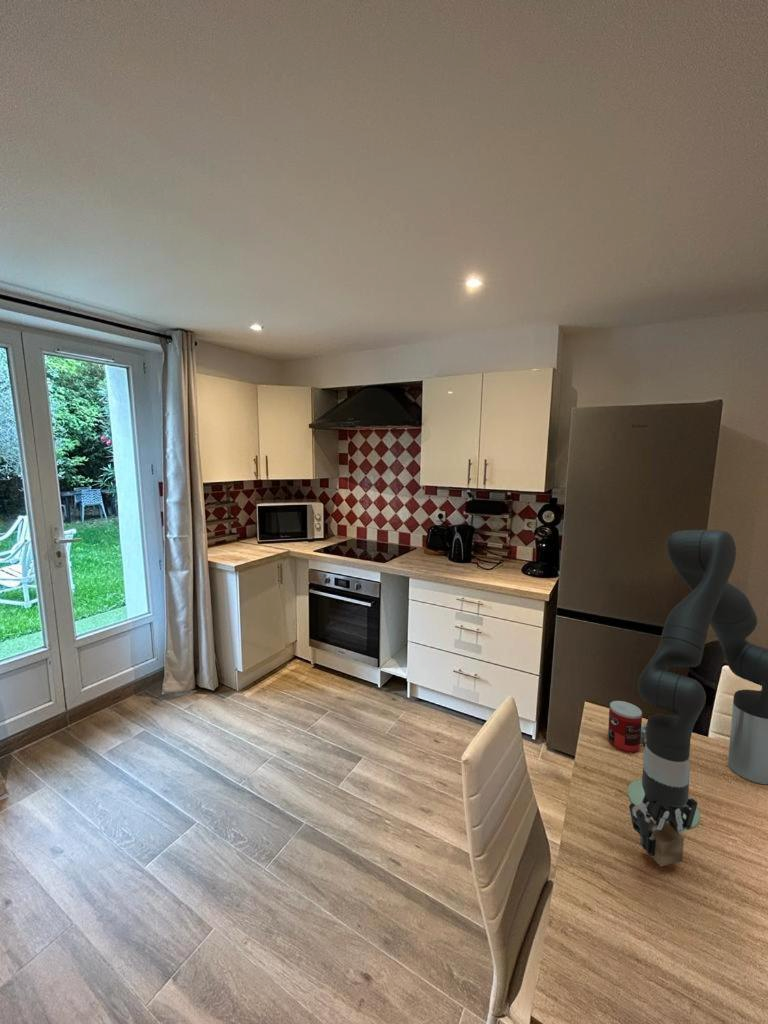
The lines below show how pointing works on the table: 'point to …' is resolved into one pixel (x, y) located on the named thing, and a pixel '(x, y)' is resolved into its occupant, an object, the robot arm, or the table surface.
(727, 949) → the table surface
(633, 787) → the sage mat
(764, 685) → the robot arm
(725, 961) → the table surface
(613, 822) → the table surface
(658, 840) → the walnut block
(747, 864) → the table surface
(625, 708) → the canned food
